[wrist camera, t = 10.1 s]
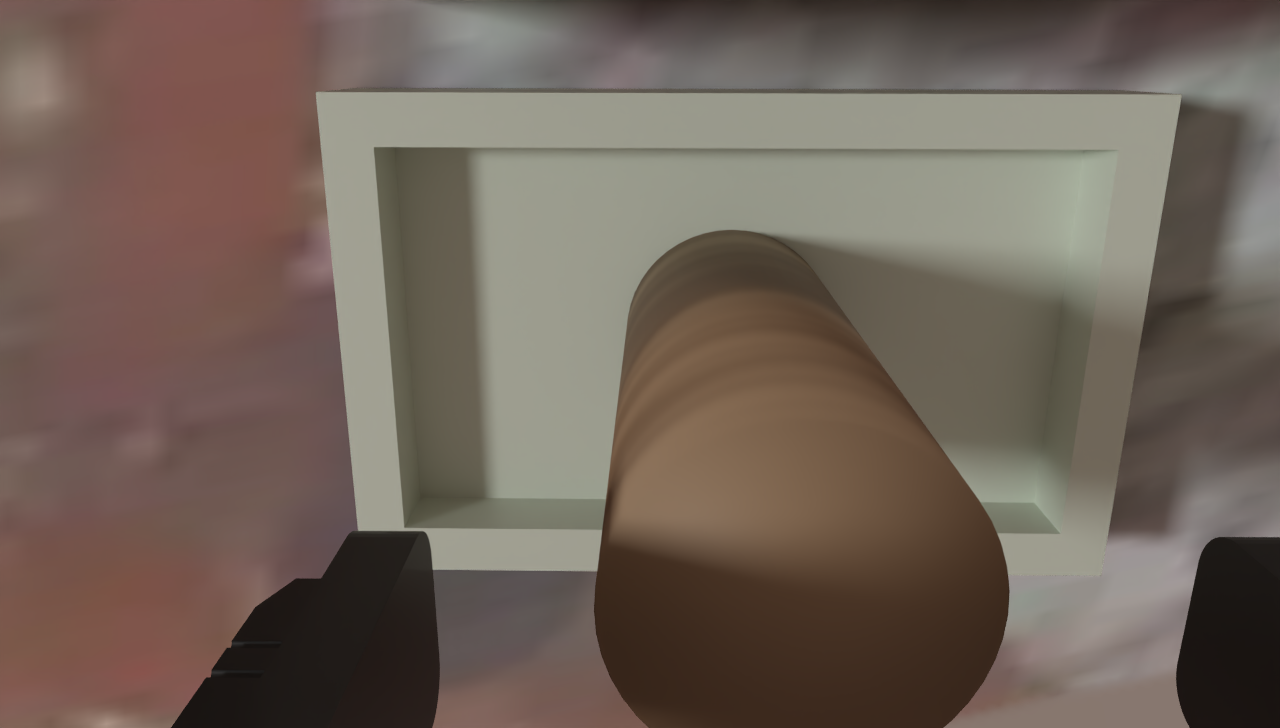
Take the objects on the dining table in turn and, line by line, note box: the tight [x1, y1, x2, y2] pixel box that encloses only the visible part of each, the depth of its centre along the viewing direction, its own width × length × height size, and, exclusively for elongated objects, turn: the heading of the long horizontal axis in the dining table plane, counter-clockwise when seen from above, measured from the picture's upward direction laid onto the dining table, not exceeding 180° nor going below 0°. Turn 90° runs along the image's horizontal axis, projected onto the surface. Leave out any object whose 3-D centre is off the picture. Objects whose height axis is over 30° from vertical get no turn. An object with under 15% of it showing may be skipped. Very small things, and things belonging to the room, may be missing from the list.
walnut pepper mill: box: [594, 230, 1009, 728], centre depth 15 cm, size 4×4×11 cm
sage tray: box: [316, 88, 1182, 576], centre depth 20 cm, size 10×16×2 cm, turn 90°
